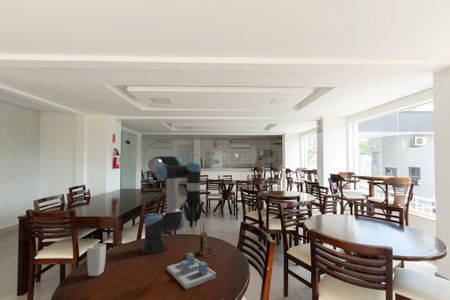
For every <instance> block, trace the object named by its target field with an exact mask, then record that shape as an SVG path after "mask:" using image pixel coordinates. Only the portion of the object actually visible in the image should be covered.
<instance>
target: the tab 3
mask: <svg viewBox="0 0 450 300" xmlns="http://www.w3.org/2000/svg"><path fill="white" fill-rule="evenodd" d="M208 265H209V264H208V263H207V262H205V261H204V260H203V261H200V262H199V273H200V274H201V275H202V276H203V275H206V274H208V268H209V267H208Z"/></svg>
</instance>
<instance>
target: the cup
mask: <svg viewBox="0 0 450 300" xmlns="http://www.w3.org/2000/svg"><path fill="white" fill-rule="evenodd" d="M86 250H87V252H86V261H87V264H86V265H87V275H88V276H89V277H99V276H100V275H102V274H103V272H104V270H105V264H106V257H107V256H106V255H107V254H106V253H107V252H106V251H107V244H106V243H94V244H92V245H89V246H88V247H87V248H86Z"/></svg>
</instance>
